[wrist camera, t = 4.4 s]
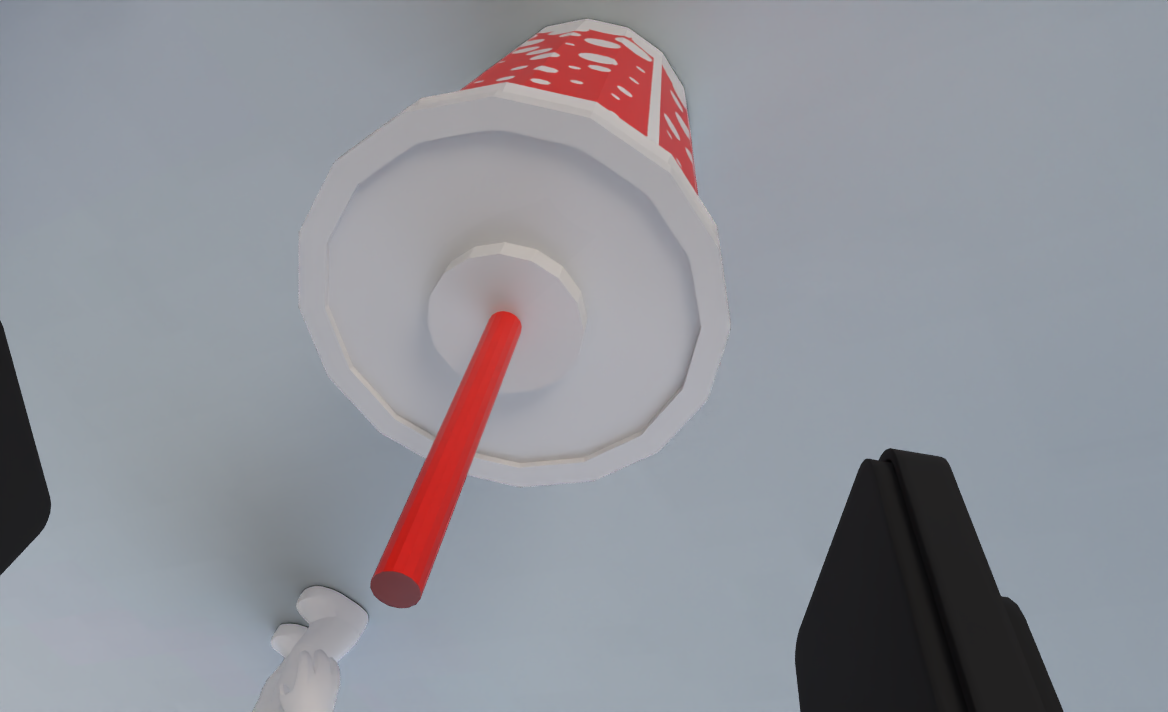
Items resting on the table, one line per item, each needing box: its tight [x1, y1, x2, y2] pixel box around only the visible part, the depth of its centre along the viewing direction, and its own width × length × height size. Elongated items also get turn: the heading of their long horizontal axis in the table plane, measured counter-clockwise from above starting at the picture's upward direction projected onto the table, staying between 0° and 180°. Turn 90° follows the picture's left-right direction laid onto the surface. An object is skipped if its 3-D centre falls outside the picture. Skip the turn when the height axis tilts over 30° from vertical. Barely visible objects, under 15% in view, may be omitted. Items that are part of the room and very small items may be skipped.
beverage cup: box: [299, 18, 731, 608], centre depth 14 cm, size 6×6×14 cm
